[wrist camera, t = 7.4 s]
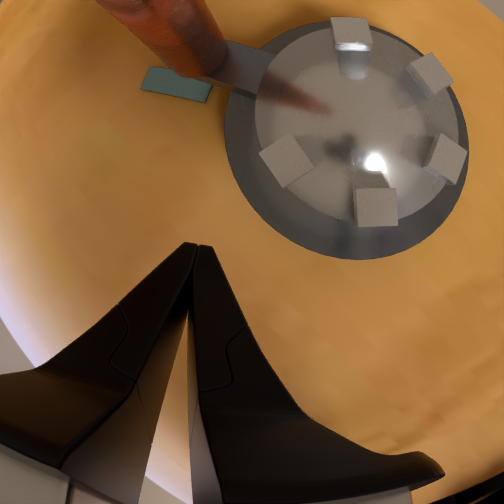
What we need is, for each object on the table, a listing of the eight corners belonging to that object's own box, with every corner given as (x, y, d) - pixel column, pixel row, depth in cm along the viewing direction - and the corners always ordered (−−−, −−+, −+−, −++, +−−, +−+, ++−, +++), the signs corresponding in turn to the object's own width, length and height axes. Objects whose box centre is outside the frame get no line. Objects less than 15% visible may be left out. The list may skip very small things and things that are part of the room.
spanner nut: (463, 101, 13) (594, 17, 2) (400, 256, 15) (555, 343, 4) (221, -2, 14) (151, -136, 3) (143, 131, 16) (-25, 67, 5)
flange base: (390, 296, 18) (399, 306, 16) (111, 138, 19) (95, 133, 17) (479, 113, 15) (494, 105, 13) (212, -16, 16) (205, -31, 14)
